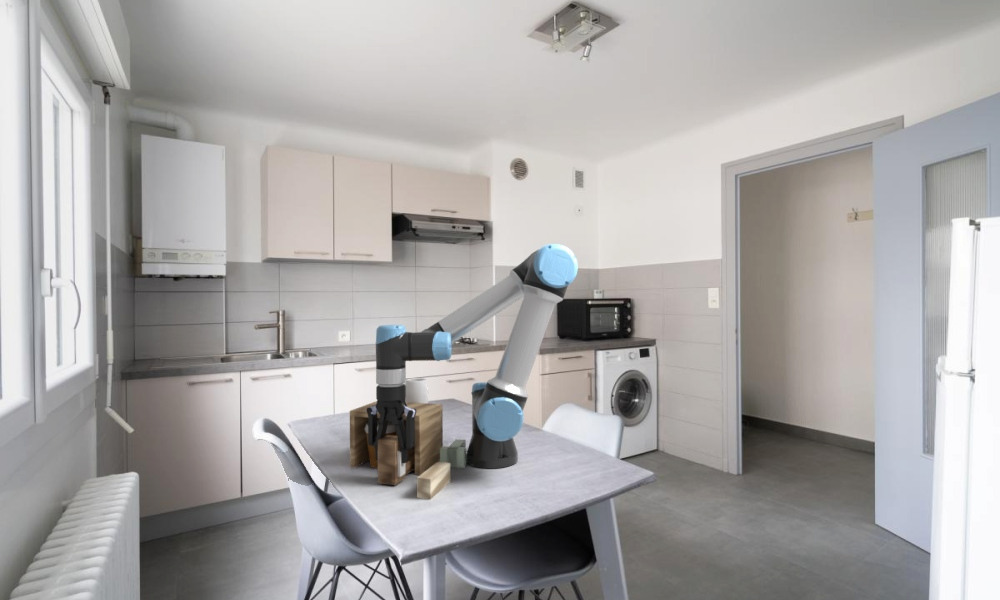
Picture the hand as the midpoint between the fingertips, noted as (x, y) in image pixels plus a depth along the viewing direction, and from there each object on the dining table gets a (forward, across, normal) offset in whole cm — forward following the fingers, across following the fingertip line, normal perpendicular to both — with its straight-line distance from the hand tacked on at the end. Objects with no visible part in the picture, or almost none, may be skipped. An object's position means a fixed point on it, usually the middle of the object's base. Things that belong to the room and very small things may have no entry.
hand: (391, 473), depth 125 cm
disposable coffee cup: (+2, +10, -12) cm, 16 cm away
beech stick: (+2, -13, +1) cm, 13 cm away
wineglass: (+2, +11, -34) cm, 36 cm away
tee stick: (+2, -10, -20) cm, 23 cm away
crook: (+2, +6, -9) cm, 10 cm away
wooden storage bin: (+2, +6, -15) cm, 16 cm away
